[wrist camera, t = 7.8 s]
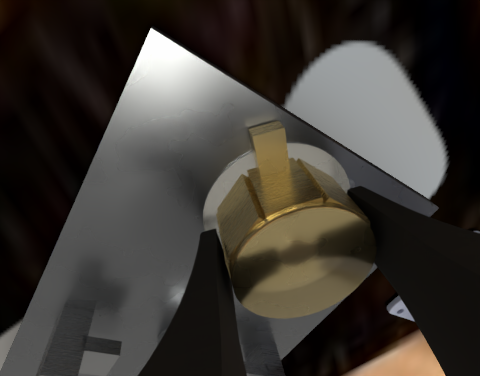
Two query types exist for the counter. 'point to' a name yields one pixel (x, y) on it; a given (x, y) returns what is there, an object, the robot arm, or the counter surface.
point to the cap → (291, 233)
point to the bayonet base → (167, 220)
